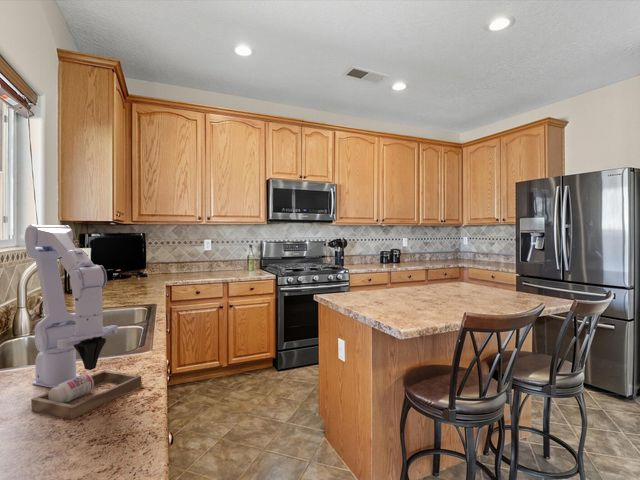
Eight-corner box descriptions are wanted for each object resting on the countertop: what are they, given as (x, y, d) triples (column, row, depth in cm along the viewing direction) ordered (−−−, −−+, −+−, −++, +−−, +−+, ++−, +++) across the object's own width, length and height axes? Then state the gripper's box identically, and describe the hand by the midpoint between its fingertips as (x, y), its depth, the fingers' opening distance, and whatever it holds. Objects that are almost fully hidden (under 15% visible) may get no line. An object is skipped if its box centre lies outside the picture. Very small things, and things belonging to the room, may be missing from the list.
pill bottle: (95, 376, 90) (62, 390, 82) (93, 393, 90) (60, 409, 82) (81, 371, 91) (47, 384, 83) (80, 389, 91) (46, 404, 83)
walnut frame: (31, 409, 81) (31, 399, 81) (104, 379, 99) (104, 370, 99) (72, 419, 77) (72, 408, 77) (141, 385, 94) (141, 376, 94)
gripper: (71, 322, 80) (72, 382, 80) (126, 309, 93) (127, 360, 93) (50, 320, 82) (51, 378, 82) (106, 308, 96) (107, 357, 96)
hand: (90, 368), depth 88 cm, fingers closed
